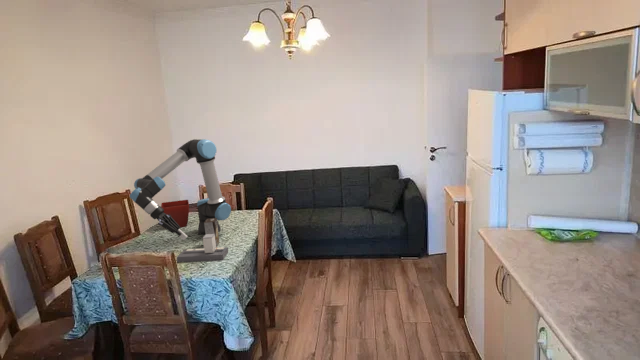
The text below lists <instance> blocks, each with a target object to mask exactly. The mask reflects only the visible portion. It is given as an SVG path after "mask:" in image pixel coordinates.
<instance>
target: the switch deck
mask: <svg viewBox="0 0 640 360" xmlns="http://www.w3.org/2000/svg"><path fill="white" fill-rule="evenodd" d="M228 253H229V247H227V246H225V247H223V246H221V247H216V250H215V251H214V253H205V251H204V247H203V248H188V249H185V248H184V249H183V250H182V252H180V253H179V254H178V255H177V256H176V261H177V263H187V262H188V263H189V262H203V261H222V260H224V259H226V256H227V255H228Z"/></svg>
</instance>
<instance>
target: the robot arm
mask: <svg viewBox="0 0 640 360" xmlns="http://www.w3.org/2000/svg"><path fill="white" fill-rule="evenodd" d="M216 153H217V146H216V144H215V143H214V142H213V141H212V140H209V139H206V138H205V139H204V138H202V139H197V138H196V139H195V138H194V139H190V140H188V141H187V142H186V143H183V144H182V145H181V146H180V147H179V148H177V149H176V152H174V153H173V154H172V155H171V156H169V157H168V158H167V159H166V160H164V161H162V162H161V163H160V164H159V165H157V167H155V168H154V169H152V170H151V171H150V172H148V174H147V173H146V175H145V176H143V177H141V178H137V179H136V180H135V181H134V183H133V186H134V190H133V191H131V193H130V195H129V198H130V199H131V200H132V201H133V203H135V204H136V205H137V206H139V208H141V209H142V210H143V211H144V212H145V213H146V214H148V215H149V216H150V218H152V219H153V220H157V221H158V223H157V224H158V226H161V227H163V228H165V229H166V230H167V231H168V232H170V233H172V234H173V235H174V234H176V235H177V236H178V237H180V239H182V240H183V241H185V240H186V239H187V238H188V237H189V236H188V235H187V234H186V233H185V232H184V231H183V230H181V229H180V228H181V227H180V226H179V225H178V224H177V223H176V221H175V220H174V219H173V218H172V217H171V215H170V214H169V215H167V214H165V213H164V212H163V211H164V209H163V208H162V207H161V205H159V203H158V202H157V201H155V200H154V199H153V198H154V197H155V196H156V195H158V193H160V192H161V191H162V190H163V189H164V188H165V187H166V183H165V181H164V178H165V177H166V176H168V175H169V174H171V173H172V172H173V171H174V170H176V169H177V168H178V167H179V166H181V165H182V164H183V163H184V162H189V160H191V159H195V161H196V163H197V164H198V165H199V167H200V169H201V173H202V178H203V181H204V185H205V190H206V194H207V198H202V199H199V200H198V201H197V202H196V208H197V213H198V214H197V215H198V220H199V223H198V228H197V233H198V235H203V236H205V235H206V234H205V226H204V222H205V221H206V219H210V218H217V225H218V233H219V232H220V231H222V229H221V225H220V224H219V222H218V221H225V220H227V219H228V218H229V217H230V215H231V213H232V207H231V205H230V204H229V203H227V200H226V197H224V196H223V193H222V191H221V187H220V186H221V185H220V182H219V177H218V175H217V170H216V166H215V163H214V161H215V160H216V155H217V154H216Z"/></svg>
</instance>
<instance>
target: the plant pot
mask: <svg viewBox="0 0 640 360" xmlns="http://www.w3.org/2000/svg"><path fill="white" fill-rule="evenodd" d="M160 206H161V207H162V208H163V209H164V211H163V212H164V213H165V214H167V215H169V214H170V215H171V217H172V218H173V219H174V220H175V221H176V223H177V224H178V225H179V226H180V228H185V227H187V226H188V223H189V215H190V202H189V199H182V200H173V201H166V202H165V201H164V202H161V203H160Z"/></svg>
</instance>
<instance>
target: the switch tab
mask: <svg viewBox="0 0 640 360" xmlns="http://www.w3.org/2000/svg"><path fill="white" fill-rule="evenodd" d="M202 243H203V248H204V251H205V253H214V251H215V250H216V248H217V247H216V241H215V234H206V235H203V237H202Z"/></svg>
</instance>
